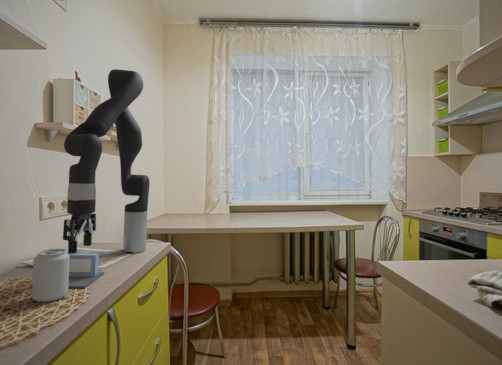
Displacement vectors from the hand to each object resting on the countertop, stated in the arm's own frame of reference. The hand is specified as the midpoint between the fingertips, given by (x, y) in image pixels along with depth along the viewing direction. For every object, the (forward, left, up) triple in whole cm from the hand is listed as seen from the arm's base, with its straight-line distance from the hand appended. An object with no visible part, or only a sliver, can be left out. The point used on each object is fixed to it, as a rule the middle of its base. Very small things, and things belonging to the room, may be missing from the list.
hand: (80, 249), depth 84 cm
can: (+15, +1, -9) cm, 18 cm away
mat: (+3, -1, -9) cm, 9 cm away
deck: (+1, +1, -8) cm, 8 cm away
